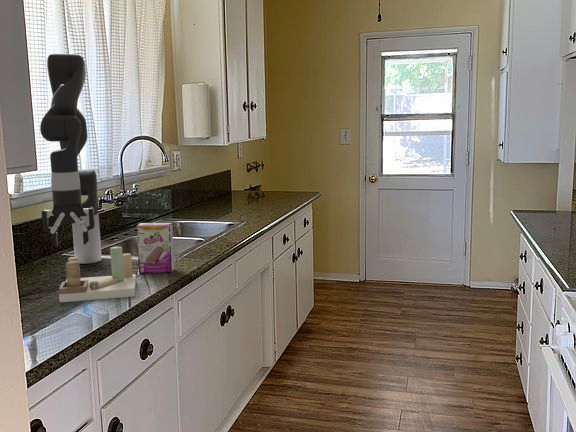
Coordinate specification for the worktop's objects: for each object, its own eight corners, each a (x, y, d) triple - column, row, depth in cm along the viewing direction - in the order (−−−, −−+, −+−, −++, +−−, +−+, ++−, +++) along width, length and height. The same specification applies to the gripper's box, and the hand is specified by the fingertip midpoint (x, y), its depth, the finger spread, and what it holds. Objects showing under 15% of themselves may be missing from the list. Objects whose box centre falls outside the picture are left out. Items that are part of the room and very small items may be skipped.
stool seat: (67, 286, 179) (64, 256, 178) (135, 281, 184) (134, 252, 182) (59, 302, 164) (56, 270, 162) (134, 296, 169) (132, 265, 167)
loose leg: (68, 288, 169) (66, 261, 168) (81, 287, 170) (79, 260, 168) (66, 291, 166) (64, 264, 164) (80, 290, 166) (78, 263, 165)
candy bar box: (138, 274, 192) (135, 225, 190) (141, 270, 197) (139, 222, 195) (172, 273, 193) (170, 224, 190) (174, 269, 198) (172, 222, 195)
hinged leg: (95, 289, 167) (92, 255, 165) (87, 287, 168) (84, 254, 167) (126, 279, 177) (124, 247, 175) (118, 277, 178) (116, 246, 177)
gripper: (94, 185, 168) (98, 240, 171) (41, 187, 165) (46, 243, 167) (91, 188, 161) (95, 246, 164) (36, 190, 157) (41, 249, 160)
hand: (70, 244), depth 165 cm, fingers open, 7 cm apart
